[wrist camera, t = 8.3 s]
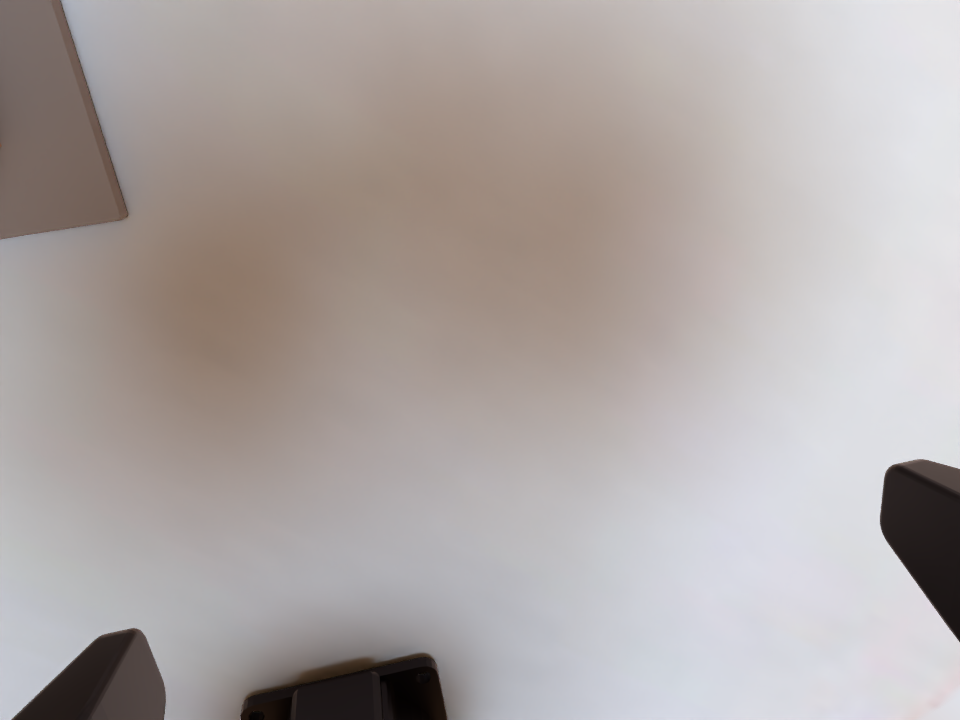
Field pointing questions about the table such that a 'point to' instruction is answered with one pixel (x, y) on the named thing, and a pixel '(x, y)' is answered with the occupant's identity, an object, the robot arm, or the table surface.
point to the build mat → (48, 128)
